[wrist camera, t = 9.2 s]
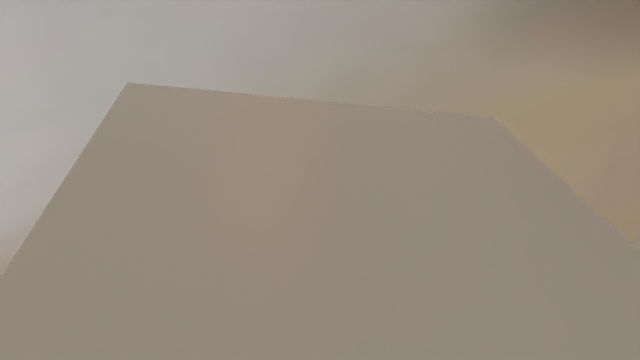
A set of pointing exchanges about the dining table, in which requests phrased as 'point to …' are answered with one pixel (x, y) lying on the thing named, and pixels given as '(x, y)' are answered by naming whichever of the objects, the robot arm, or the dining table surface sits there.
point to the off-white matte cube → (314, 241)
